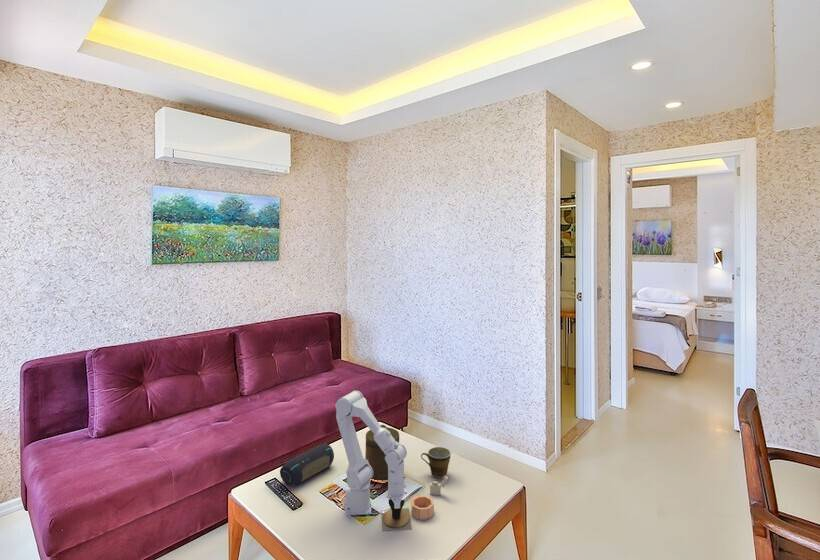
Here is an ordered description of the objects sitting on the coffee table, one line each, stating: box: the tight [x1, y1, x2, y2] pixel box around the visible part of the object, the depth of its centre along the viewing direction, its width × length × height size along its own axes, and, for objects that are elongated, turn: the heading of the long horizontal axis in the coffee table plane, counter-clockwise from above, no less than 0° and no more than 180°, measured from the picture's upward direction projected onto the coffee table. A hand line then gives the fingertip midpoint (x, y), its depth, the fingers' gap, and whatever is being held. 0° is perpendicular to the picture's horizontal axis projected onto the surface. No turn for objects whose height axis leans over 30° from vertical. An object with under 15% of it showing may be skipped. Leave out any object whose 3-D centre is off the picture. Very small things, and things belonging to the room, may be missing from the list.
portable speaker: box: [279, 443, 335, 486], centre depth 182 cm, size 25×10×10 cm, turn 144°
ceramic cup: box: [420, 446, 452, 479], centre depth 182 cm, size 13×10×10 cm
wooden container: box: [364, 424, 400, 481], centre depth 182 cm, size 15×15×22 cm
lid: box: [383, 510, 409, 528], centre depth 152 cm, size 10×10×5 cm
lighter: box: [429, 475, 449, 496], centre depth 168 cm, size 7×2×8 cm, turn 81°
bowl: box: [410, 495, 435, 520], centre depth 156 cm, size 8×8×4 cm
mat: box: [380, 507, 413, 532], centre depth 152 cm, size 10×12×1 cm
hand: (396, 515), depth 152 cm, fingers closed on lid, 3 cm apart
